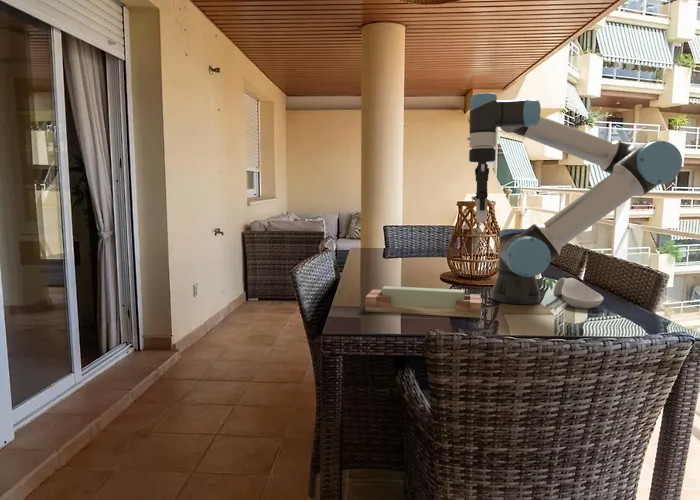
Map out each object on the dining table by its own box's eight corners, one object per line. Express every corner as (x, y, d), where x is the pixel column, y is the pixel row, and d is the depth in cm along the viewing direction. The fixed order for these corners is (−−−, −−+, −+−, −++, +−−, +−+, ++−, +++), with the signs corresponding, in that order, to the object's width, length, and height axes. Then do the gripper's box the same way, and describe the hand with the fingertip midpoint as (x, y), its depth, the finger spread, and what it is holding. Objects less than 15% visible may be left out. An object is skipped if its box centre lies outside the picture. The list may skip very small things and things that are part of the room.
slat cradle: (372, 302, 163) (372, 289, 162) (479, 308, 155) (480, 294, 155) (365, 310, 151) (365, 297, 151) (480, 317, 144) (481, 303, 143)
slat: (384, 301, 158) (384, 285, 157) (463, 306, 152) (464, 289, 152) (381, 304, 154) (382, 288, 154) (463, 309, 149) (464, 292, 148)
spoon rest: (610, 312, 152) (611, 288, 151) (570, 311, 152) (571, 287, 152) (576, 295, 176) (577, 274, 175) (541, 295, 176) (542, 274, 175)
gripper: (468, 151, 163) (467, 218, 166) (469, 145, 139) (468, 223, 142) (493, 150, 162) (491, 218, 164) (498, 144, 138) (496, 223, 140)
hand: (481, 220), depth 153 cm, fingers open, 13 cm apart
